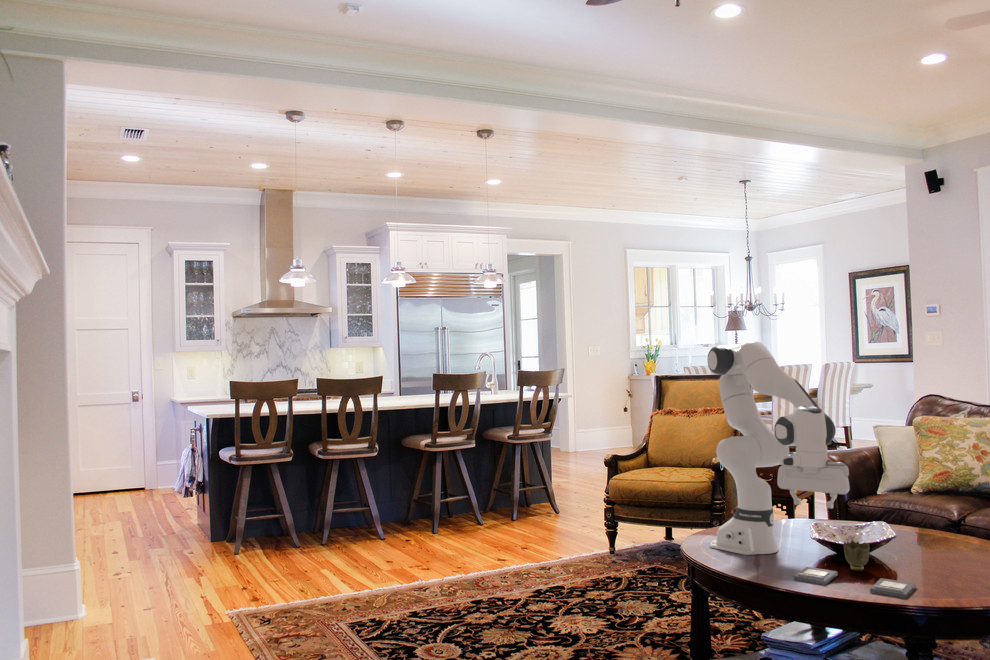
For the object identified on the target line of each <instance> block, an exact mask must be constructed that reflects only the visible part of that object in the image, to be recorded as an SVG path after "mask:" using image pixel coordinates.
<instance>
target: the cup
mask: <svg viewBox="0 0 990 660" xmlns="http://www.w3.org/2000/svg"><path fill="white" fill-rule="evenodd" d="M842 546H843V551H844V556H845V557H844V558H845V560H846V562H847V563H848V564H849V565H850V569H851V570H852V571H853V572H854V571H855V572H862V571H863V570H864V569H865V568H864V566H865V565H867V563H868V562H869V557H870V549H871V548H870V547H871V545H870V544H869V543H866V542H863V543H861V544H860V541H854V540H851V541H850V542H849V541H844V542H843V545H842Z"/></svg>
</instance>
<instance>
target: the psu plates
mask: <svg viewBox="0 0 990 660" xmlns="http://www.w3.org/2000/svg"><path fill="white" fill-rule="evenodd" d="M837 576H838V571H837V570H830V569H825V568H824V569H823V568H817V567H811V566H805V567H804V568H802V569H801V570H800V571H799V572H797V573H795V574H794V575H793V581H798V582H805V583H810V584H816V585H822V586H827V584H829V583H830V582H832V580H834V579H835V578H837ZM916 585H917V583H915V582H914V583H913V582H909V581H902V580H895V579H889V578H882V577H881V578H879V579H878V580H877V581H876V583H874V584H873V585H872V586H871V587H870V588H869V590H870V591H869V593H870V594H876V595H881V596H882V595H883V596H888V597H893V598H900V599H905V600H906V599H907V598H909V596H910V595H911V594H912V593H913V592H914V591H915V589H916V587H917V586H916Z"/></svg>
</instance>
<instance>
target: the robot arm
mask: <svg viewBox="0 0 990 660" xmlns="http://www.w3.org/2000/svg"><path fill="white" fill-rule="evenodd" d="M707 365H708V368H709V370H710V371H711V372H712V373H713V374H714V375H719V376H720V377H719V380H718V387H719V395H720V399H721V404H722V407H723V408H722V409H723V411H724V414H725V418H726V419H725V420H726V422H727V424H728V425H729V426H730V427H731V428H733V429H735V430H737V431H739V432H740V433H741V434H742V435H740V436H738V435H735V436H731V437H726V438H723V439H721V440H720V441H719V442H718V444H717V446H716V449H715V450H716V458H717V460H718V462H719V463H720V465H721V466H722V467H724V468H725V469H726V470H727V471H728V472H729V473H730V474H731V477H733V480H734V482H735V487H736V493H737V494H736V495H737V496H736V497H737V505H736V506H735V507H733V509H731V513H730V514H733V515H732V518H730V519H729V520H727V521H726V522H725V523H724V524H722V525H721V526H720V527H718V529H717V532H716V539H713V540H712V541H710V543H709V547H710V548H711V549H717V550H722V551H726V552H731V553H736V554H740V555H745V556H751V555H769V554H774V553H777V552H779V548H778V545H777V541H776V537H775V531H774V523H775V516H774V508H773V506H772V505H773V504H772V488H771V485H770V484H769V483H768V482H767V481H766V480H764V479H763V478H760V477H759V476H758V474H757V468H770V467H775V466H779V465H781V466H780V467H779V468H778V471H777V483H776V484H777V486H778V488H779V489H781V490H789V493H790V495H791V497H792V499H793V504H794V505H795V506H801V504H802V499H801V498H799V497H798V496H797V492H798V491H802V492H812V493H813V492H815V493H822V494H823V493H824V494H829V497H830V500H829V501H827V502H826V509H834V502H835V500H836V499H837V497H838V495H846V494H848V493H849V491H850V487H851V486H850V480H849V476H850V469H849V466H848V465H847V464H846V463H844V462H841V461H829V460H828V448H827V447H828V445H829V444H830V443H831V442H832V441H833V439H834V438H835V435H836V432H837V431H836V430H837V429H836V425H835V422H834V421H833V419H832V418H831V417H830V416H828V414H826V412H824V411H823V409H821V408H820V406H819V405H817V403H816V402H815V400H814V399H813V398H812V397H811V396H810V394H809V393H808V391H807V390H806V389H805V388H804V387H803V386H802V385H801V384H800V382H799V381H798V380H796V379H795V378H793V377H792V376H790V375H789V374H787V372H785V371H784V370H783V369H782V367H780V366H779V365H778V363H777V361H776V359H775V357H774V356H773V354H772V353H771V352H770V351H769V349H768V348H767V347H766V346H765V345H764V344H763V343H762V342H759V341H757V340H755V341H754V340H752V341H747V342H746V343H736V344H735V343H734V344H733V343H732V344H725V345H722V344H719V345H716V346H713V347H711V348H710V349H709V351H708V353H707ZM752 389H753V390H754V391H755V392H757V393H760V394H761V395H763V396H771V397H775V398H779V399H783V400H786V401H788V402H789V403H791V404H792V405H793V407H794V408H795V409H794V411H793V412H791V413H789V414H786V415H783V416H780V417H779V418H778V419H777V420H776V422H775V424H774V431H773V430H772V429H771V428H770V427H769V426H768V425H767V424H766V422H765V421H764V419H763V418H762V417H761V414H760V412H759V409H758V407H757V403H756V401H755V397H754V394H753V391H752ZM790 447H795V454H790Z"/></svg>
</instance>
